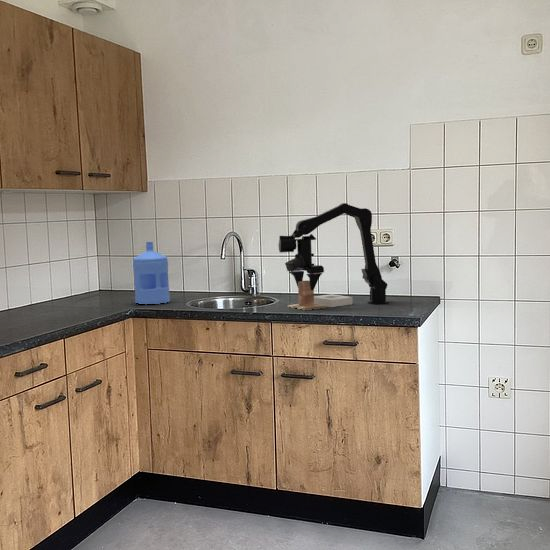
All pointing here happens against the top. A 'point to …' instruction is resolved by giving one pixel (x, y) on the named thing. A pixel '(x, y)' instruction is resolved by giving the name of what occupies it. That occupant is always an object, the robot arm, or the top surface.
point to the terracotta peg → (305, 294)
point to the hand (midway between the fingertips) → (305, 289)
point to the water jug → (151, 277)
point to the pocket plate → (333, 300)
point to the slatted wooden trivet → (307, 307)
